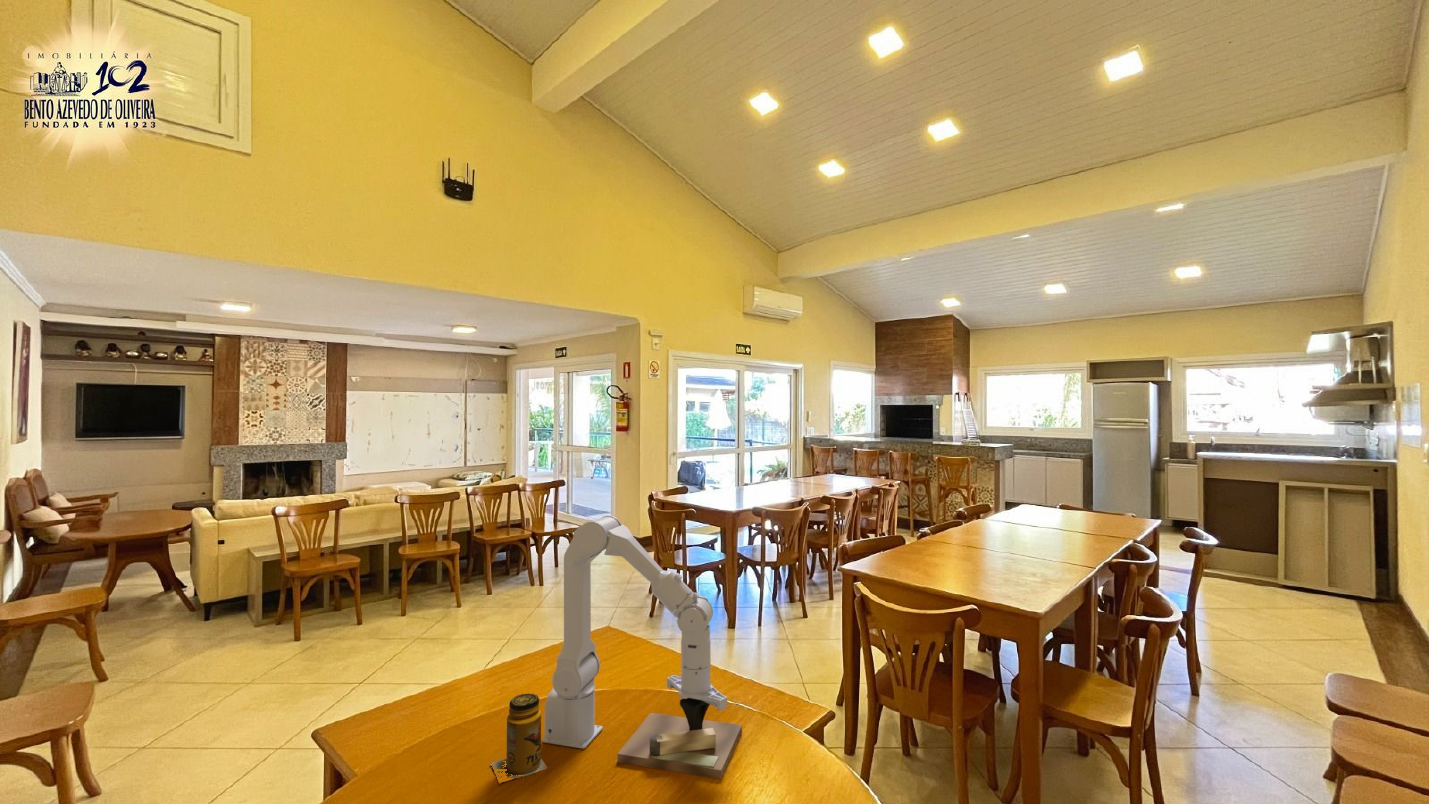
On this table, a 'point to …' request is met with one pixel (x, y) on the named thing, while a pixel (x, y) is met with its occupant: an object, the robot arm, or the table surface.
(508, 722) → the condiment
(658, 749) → the leg
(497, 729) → the table surface
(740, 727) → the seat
